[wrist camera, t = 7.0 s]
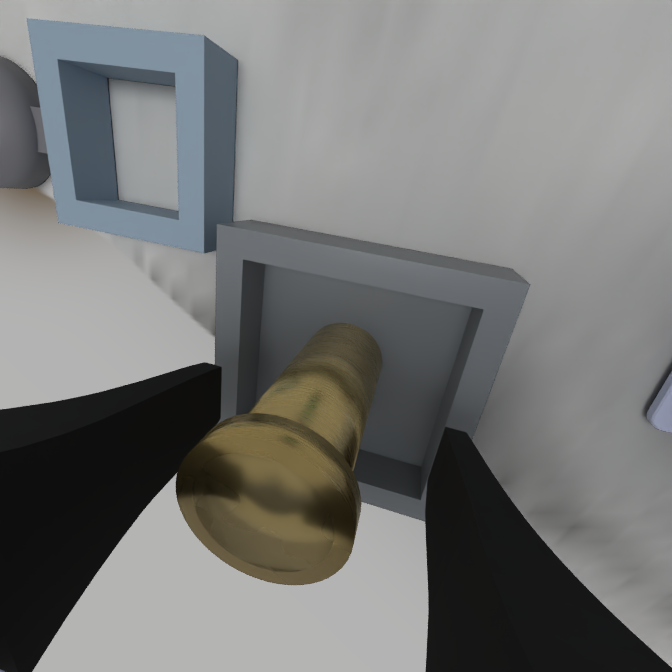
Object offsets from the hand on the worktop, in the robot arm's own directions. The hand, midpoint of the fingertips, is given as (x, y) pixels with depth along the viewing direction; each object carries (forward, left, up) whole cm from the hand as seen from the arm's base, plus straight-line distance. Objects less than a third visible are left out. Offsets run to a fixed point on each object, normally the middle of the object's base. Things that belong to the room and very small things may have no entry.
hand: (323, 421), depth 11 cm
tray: (0, 0, -5) cm, 5 cm away
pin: (0, 0, -4) cm, 4 cm away
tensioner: (+12, -7, -5) cm, 15 cm away
